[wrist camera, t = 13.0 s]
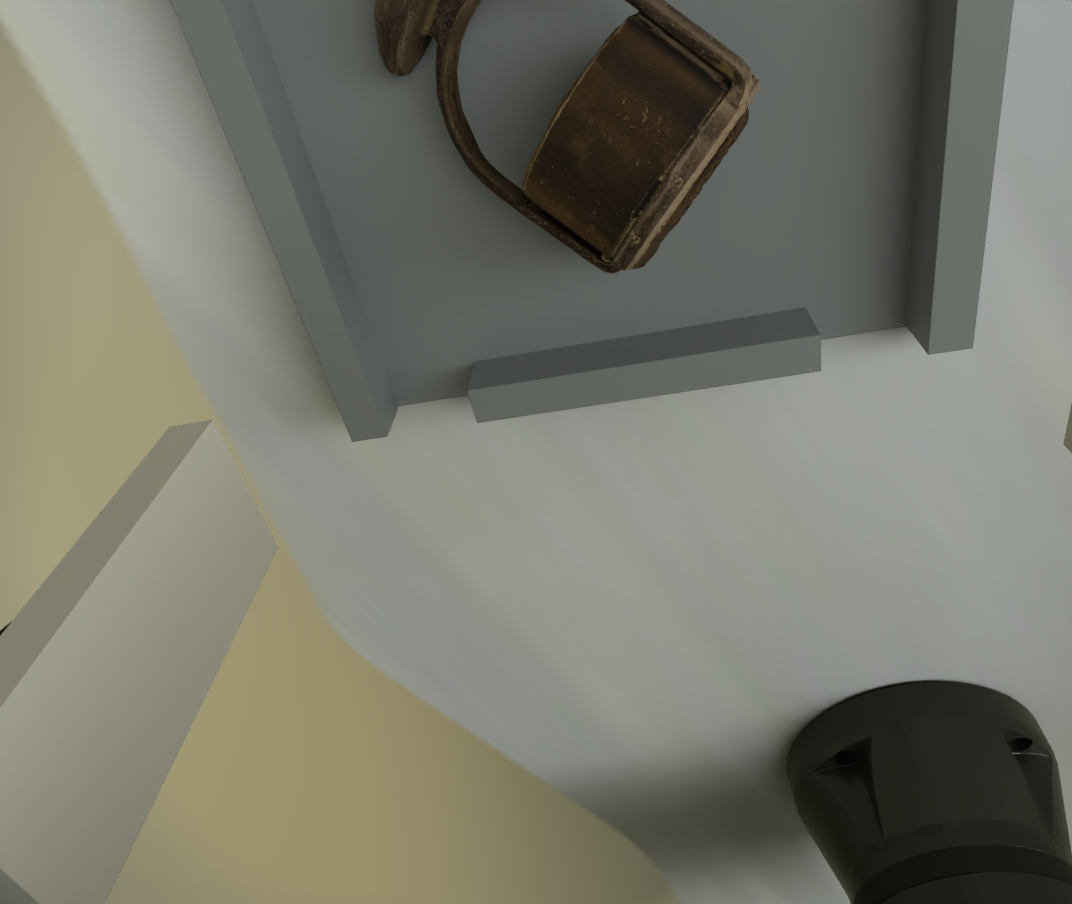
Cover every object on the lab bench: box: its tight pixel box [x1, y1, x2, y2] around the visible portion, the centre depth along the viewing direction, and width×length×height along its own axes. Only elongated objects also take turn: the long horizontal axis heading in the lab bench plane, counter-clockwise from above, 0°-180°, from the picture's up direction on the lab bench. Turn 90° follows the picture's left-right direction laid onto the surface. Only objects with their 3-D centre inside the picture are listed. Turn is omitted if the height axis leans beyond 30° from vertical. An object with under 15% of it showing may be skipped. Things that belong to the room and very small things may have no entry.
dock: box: [170, 0, 1014, 442], centre depth 27 cm, size 20×25×3 cm
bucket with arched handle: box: [374, 0, 760, 274], centre depth 24 cm, size 7×13×10 cm
